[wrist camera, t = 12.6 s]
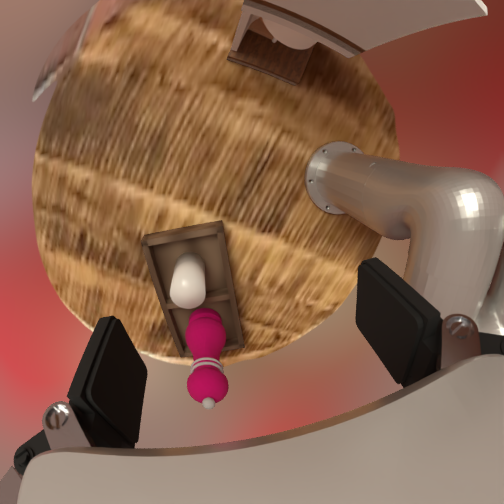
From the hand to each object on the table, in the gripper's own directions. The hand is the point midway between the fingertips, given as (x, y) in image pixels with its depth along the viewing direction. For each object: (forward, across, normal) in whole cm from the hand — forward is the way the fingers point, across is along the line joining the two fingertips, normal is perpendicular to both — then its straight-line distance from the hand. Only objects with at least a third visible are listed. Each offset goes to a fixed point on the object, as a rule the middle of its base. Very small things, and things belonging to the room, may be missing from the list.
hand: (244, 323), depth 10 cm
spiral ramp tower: (+34, -13, -21) cm, 42 cm away
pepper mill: (+34, +8, +24) cm, 42 cm away
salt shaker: (+33, +7, +13) cm, 36 cm away
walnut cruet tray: (+34, +8, +19) cm, 40 cm away
